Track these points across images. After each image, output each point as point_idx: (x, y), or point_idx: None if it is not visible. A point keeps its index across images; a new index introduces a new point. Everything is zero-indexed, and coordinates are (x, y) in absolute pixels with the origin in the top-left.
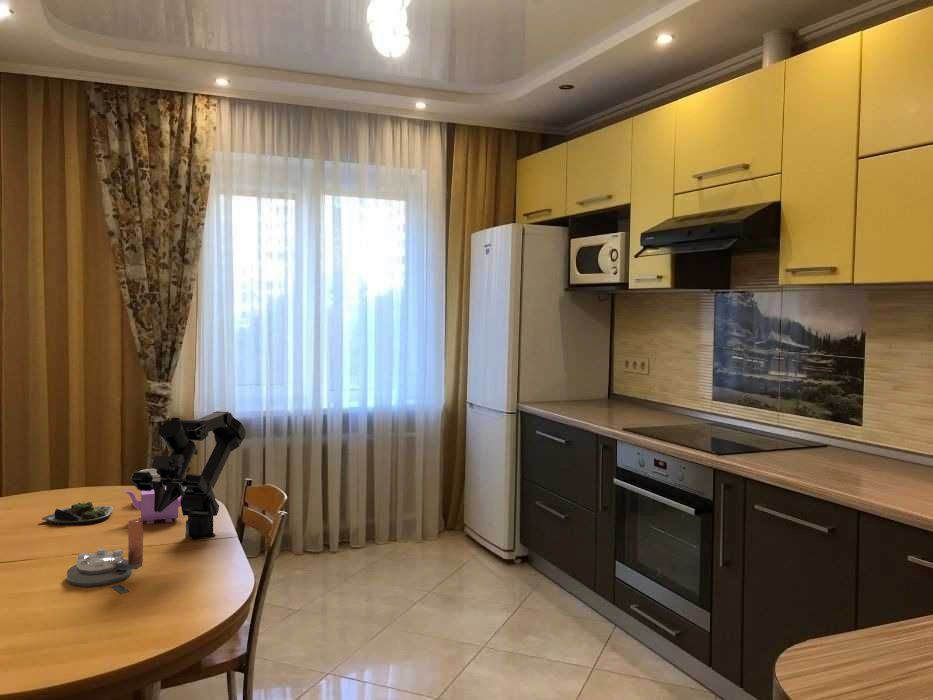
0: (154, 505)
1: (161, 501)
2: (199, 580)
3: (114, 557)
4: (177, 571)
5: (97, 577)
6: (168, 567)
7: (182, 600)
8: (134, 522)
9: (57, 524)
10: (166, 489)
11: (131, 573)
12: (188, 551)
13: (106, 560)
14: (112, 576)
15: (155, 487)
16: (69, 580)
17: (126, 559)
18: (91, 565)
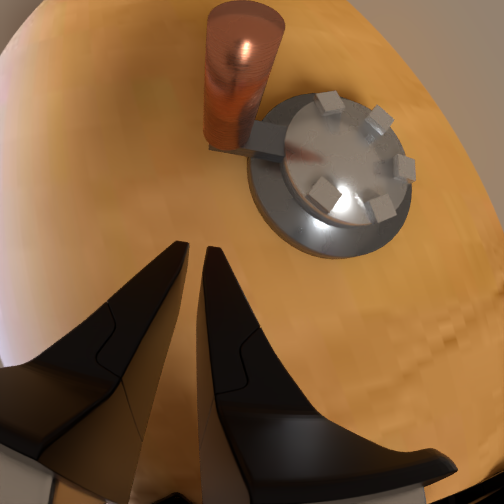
0: (229, 267)
1: (162, 286)
2: (49, 151)
3: (314, 161)
4: (116, 212)
5: (308, 98)
6: (153, 247)
7: (79, 52)
8: (243, 6)
9: (499, 472)
10: (98, 394)
11: (249, 183)
12: None
13: (325, 136)
14: (274, 108)
15: (307, 427)
16: None
17: (298, 241)
18: (343, 101)
